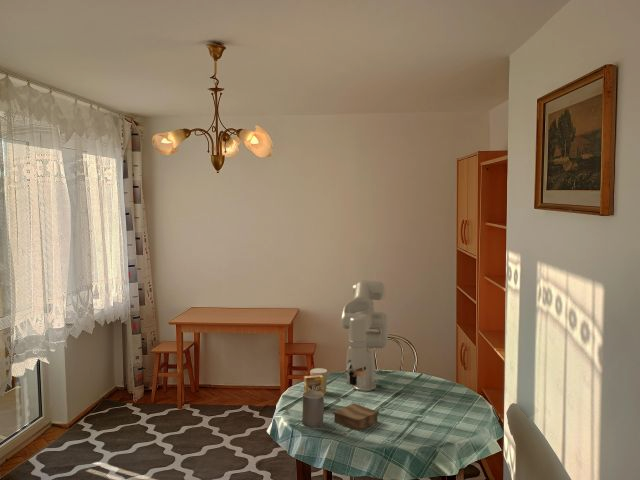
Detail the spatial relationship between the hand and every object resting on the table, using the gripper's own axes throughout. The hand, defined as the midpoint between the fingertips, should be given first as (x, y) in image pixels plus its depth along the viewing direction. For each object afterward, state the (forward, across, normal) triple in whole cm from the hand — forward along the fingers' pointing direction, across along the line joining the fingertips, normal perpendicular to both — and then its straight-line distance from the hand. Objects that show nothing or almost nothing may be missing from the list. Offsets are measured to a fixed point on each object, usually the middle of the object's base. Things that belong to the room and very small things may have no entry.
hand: (356, 382), depth 266 cm
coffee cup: (+19, -18, -40) cm, 48 cm away
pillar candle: (+19, +15, -13) cm, 27 cm away
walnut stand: (+19, 0, 0) cm, 19 cm away
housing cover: (-4, 0, 0) cm, 4 cm away
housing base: (+1, 0, 0) cm, 1 cm away
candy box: (+19, -1, -28) cm, 34 cm away
